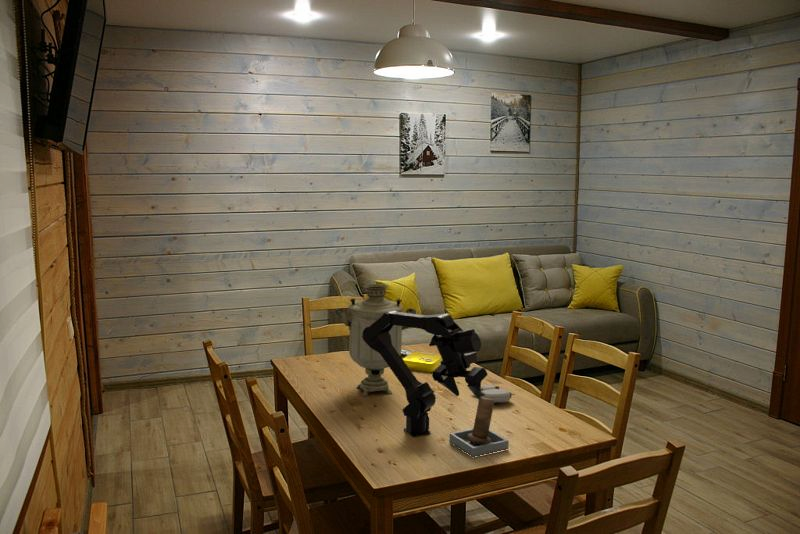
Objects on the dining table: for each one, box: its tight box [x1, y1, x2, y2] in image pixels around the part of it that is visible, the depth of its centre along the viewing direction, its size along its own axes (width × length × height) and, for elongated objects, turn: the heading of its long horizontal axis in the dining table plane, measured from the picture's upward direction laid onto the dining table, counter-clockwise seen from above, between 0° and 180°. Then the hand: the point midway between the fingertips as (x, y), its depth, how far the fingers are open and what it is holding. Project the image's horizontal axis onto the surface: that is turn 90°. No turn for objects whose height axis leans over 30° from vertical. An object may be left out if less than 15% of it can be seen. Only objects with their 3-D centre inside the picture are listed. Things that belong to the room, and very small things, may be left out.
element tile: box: [402, 351, 442, 373], centre depth 284 cm, size 15×15×5 cm
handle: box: [467, 397, 496, 445], centre depth 201 cm, size 7×7×13 cm
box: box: [449, 428, 510, 458], centre depth 200 cm, size 13×13×3 cm
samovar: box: [335, 283, 417, 397], centre depth 251 cm, size 30×26×40 cm
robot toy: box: [481, 384, 516, 404], centre depth 243 cm, size 12×4×15 cm
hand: (468, 396), depth 207 cm, fingers open, 9 cm apart
